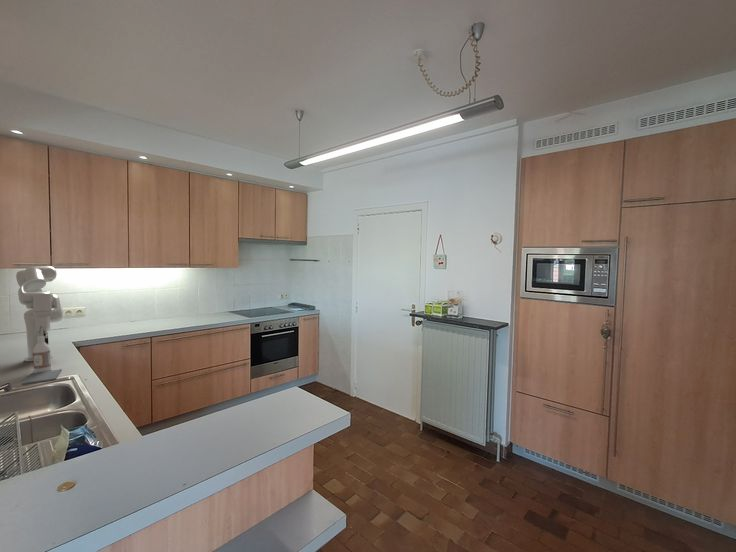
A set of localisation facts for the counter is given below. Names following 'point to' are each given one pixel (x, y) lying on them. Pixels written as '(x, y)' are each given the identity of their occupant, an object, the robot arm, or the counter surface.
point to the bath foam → (41, 356)
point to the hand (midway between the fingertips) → (44, 345)
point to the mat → (41, 376)
